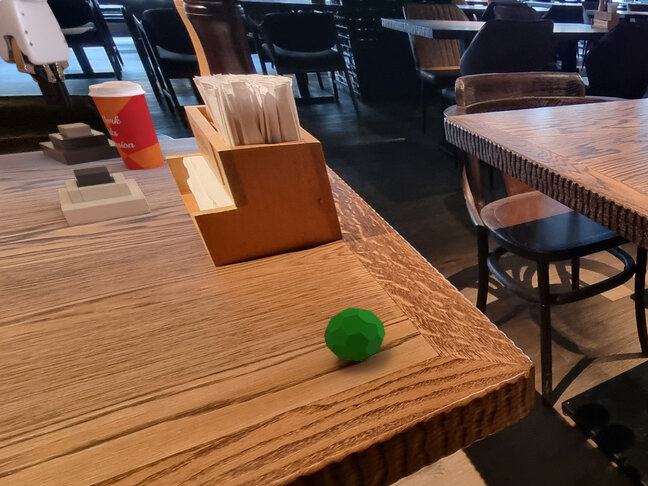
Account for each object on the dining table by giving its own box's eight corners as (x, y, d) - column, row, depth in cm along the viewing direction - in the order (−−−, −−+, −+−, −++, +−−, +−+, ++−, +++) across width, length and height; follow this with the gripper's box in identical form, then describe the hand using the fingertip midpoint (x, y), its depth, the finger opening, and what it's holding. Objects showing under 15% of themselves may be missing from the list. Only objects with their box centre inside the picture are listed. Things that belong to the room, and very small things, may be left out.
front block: (64, 202, 79) (51, 177, 77) (139, 191, 84) (129, 167, 82) (69, 226, 72) (55, 198, 70) (151, 212, 77) (140, 185, 75)
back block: (44, 154, 100) (33, 133, 98) (102, 146, 107) (93, 126, 105) (68, 165, 95) (58, 143, 93) (128, 156, 101) (119, 135, 99)
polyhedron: (357, 378, 46) (346, 333, 44) (318, 361, 48) (306, 317, 45) (399, 349, 50) (392, 306, 47) (362, 335, 52) (353, 293, 49)
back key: (62, 136, 98) (57, 125, 97) (86, 133, 101) (81, 122, 100) (69, 139, 97) (64, 128, 96) (93, 136, 99) (89, 125, 98)
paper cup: (116, 164, 96) (82, 83, 90) (167, 158, 101) (139, 81, 94) (122, 174, 92) (87, 89, 85) (175, 167, 96) (146, 86, 90)
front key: (79, 183, 76) (73, 169, 75) (111, 179, 78) (105, 165, 77) (81, 189, 74) (75, 175, 73) (114, 185, 76) (108, 171, 75)
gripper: (19, -11, 93) (64, 98, 101) (-55, -14, 80) (3, 111, 89) (69, -8, 94) (109, 99, 103) (3, -10, 81) (55, 112, 90)
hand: (60, 104), depth 96 cm, fingers closed
